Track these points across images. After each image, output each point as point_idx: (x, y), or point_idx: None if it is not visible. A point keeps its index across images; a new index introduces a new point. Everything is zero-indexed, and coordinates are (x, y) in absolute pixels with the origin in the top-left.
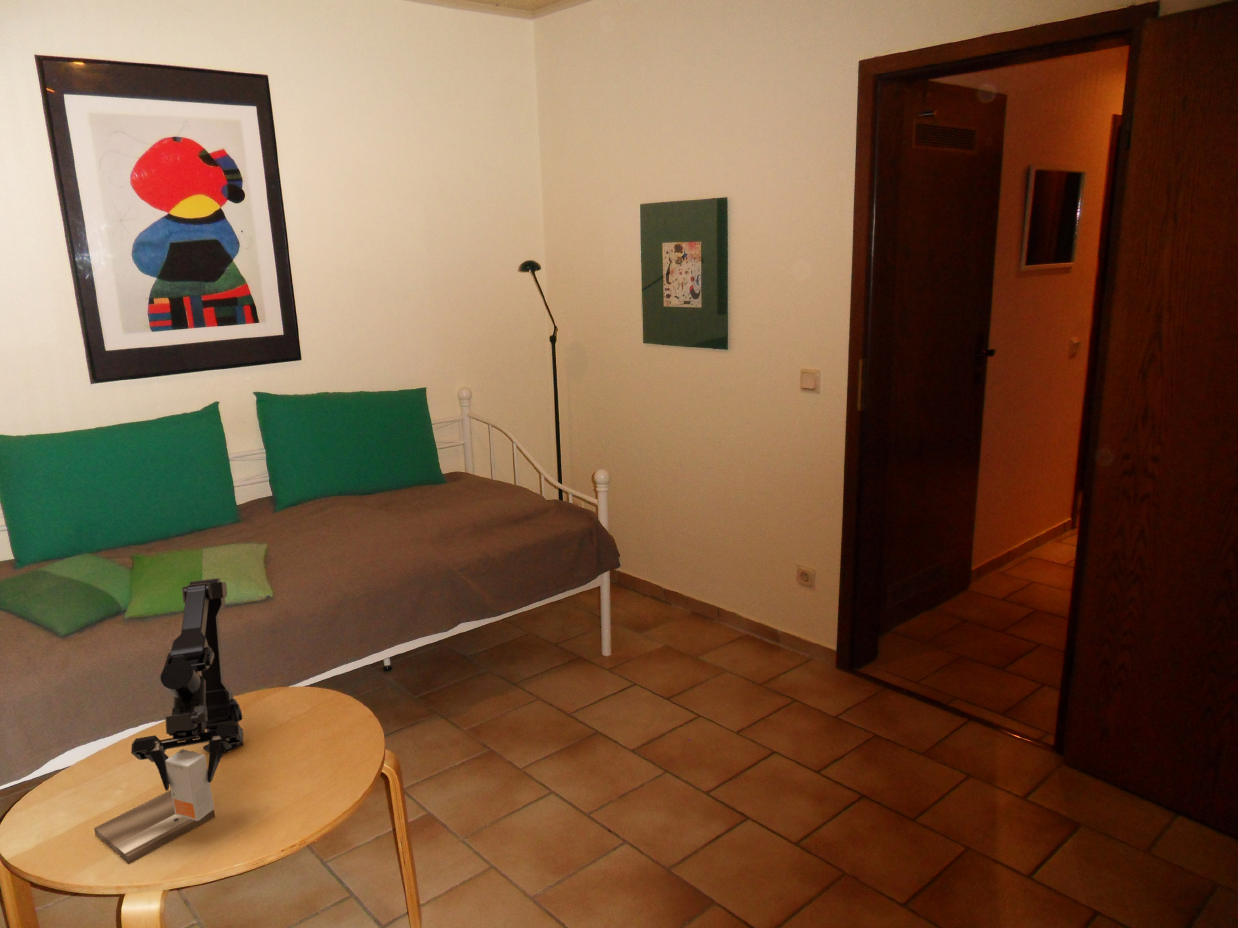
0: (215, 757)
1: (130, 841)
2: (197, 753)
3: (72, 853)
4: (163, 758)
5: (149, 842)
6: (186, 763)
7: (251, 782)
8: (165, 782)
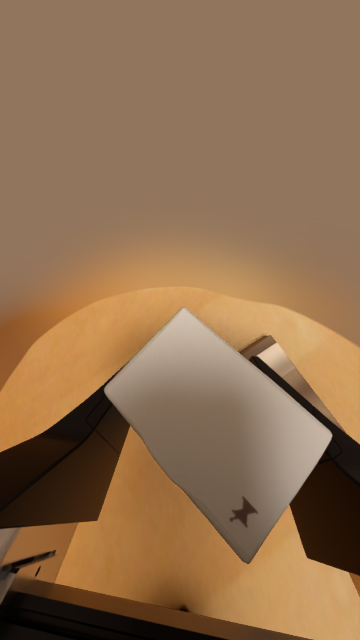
0: (88, 399)
1: (276, 368)
2: (142, 428)
3: (348, 389)
4: (352, 485)
5: (250, 355)
6: (193, 335)
7: (131, 467)
8: (264, 368)
